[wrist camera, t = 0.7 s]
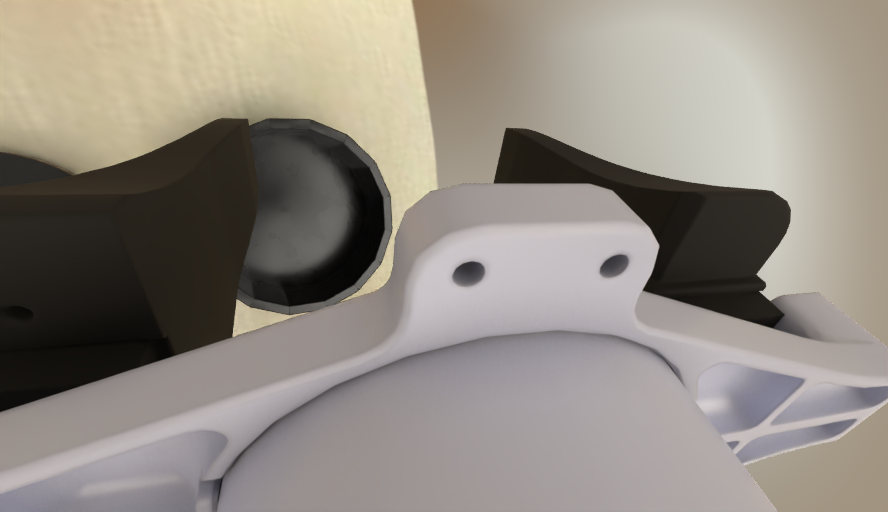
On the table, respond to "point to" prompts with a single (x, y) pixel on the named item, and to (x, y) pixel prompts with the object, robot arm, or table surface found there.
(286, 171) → the pot
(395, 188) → the table surface
